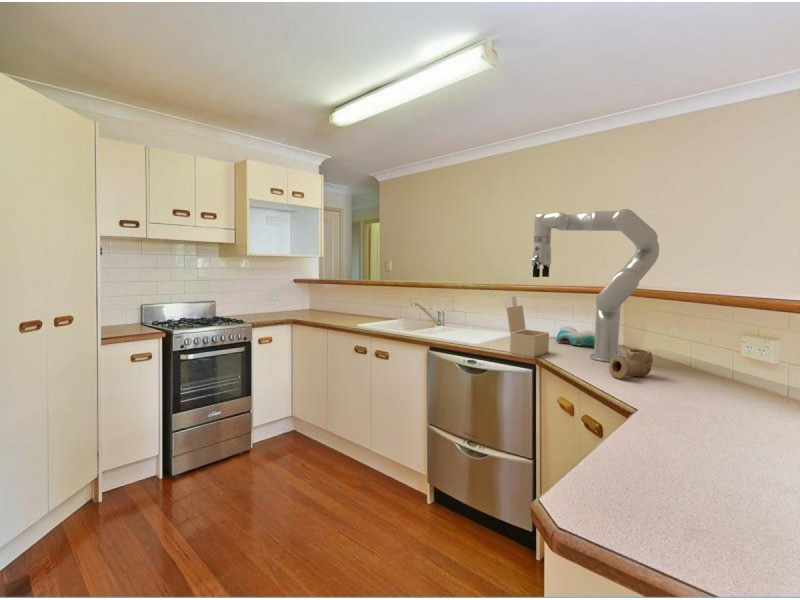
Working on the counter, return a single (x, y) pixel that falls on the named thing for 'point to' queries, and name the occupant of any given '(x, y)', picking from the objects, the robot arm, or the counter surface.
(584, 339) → the athletic shoe
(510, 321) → the lid flap
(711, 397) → the counter surface
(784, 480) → the counter surface
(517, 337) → the carton
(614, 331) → the robot arm
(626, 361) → the pipe
